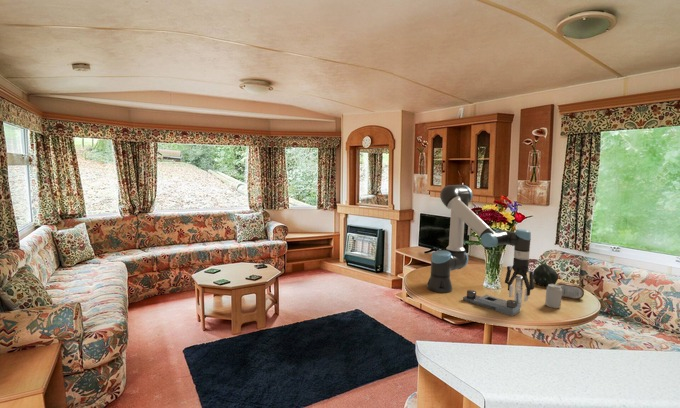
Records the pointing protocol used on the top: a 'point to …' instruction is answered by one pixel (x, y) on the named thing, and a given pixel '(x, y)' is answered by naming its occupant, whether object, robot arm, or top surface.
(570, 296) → the tin
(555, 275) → the squash
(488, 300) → the plate with dome knobs
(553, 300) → the can
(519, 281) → the steel pin
